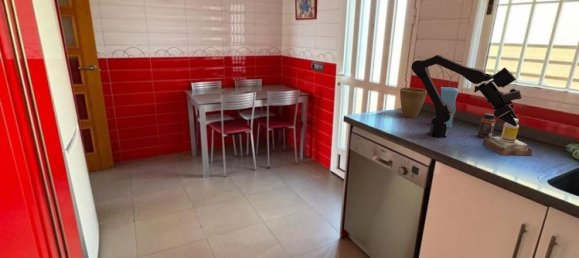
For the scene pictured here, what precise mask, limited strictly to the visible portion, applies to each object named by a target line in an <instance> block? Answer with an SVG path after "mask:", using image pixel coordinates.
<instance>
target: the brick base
mask: <svg viewBox="0 0 579 258" xmlns="http://www.w3.org/2000/svg"><path fill="white" fill-rule="evenodd" d="M482 145H484V146H486V147H487V148H489V149H491V150H492V151H495V152H496V153H498V154H499V155H504V156H506V155H507V156H509V155H513V156H532V155H533V149H532V147H528V144H527V143H525V142H523V141H521V140H518V139H516V140H515V142H506V141H503V140H501V136H492V137H489V138H484V139H482Z"/></svg>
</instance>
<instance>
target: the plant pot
mask: <svg viewBox="0 0 579 258" xmlns="http://www.w3.org/2000/svg"><path fill="white" fill-rule="evenodd" d="M427 94H428V92H427V91H426V89H424V88H419V87H418V88H417V87H401V88H399V98H400V105H401V106H400V108H401V111H402V116H403V117H406V118H409V119H410V118H413V119H414V118H415V119H416V118H417V117H418V115H419V113H420V112H421V110H422V107H423V106H424V103H425V100H426V98H427Z"/></svg>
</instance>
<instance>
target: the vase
mask: <svg viewBox="0 0 579 258" xmlns="http://www.w3.org/2000/svg"><path fill="white" fill-rule="evenodd" d="M459 91H460V90H459V89H458V88H456V87H444V86H441V87H440V96H441V98H442V100H443V102H444V103H445V104H446V105H447V104H448V103H449V104H450V107H451V109H452V110H453V111H452V113H453V115H452V117H451V118H450V119H449V121H447V122H445V124H447V125H446V127H447V129H449V128H451V129H452V128H453V118H454V116H455V113H456V112H457V109H456V99H457V96H458V93H459Z"/></svg>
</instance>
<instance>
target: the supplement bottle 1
mask: <svg viewBox="0 0 579 258" xmlns="http://www.w3.org/2000/svg"><path fill="white" fill-rule="evenodd" d="M495 125H496V119H495V115H494V113H487V112H486V113H485V114H484V117H482V118H481V120H480V123H479V128H478V133H477V135H478V137H480V138H484V139H485V138H488V139H489V137H493V134H494V130H495Z"/></svg>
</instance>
